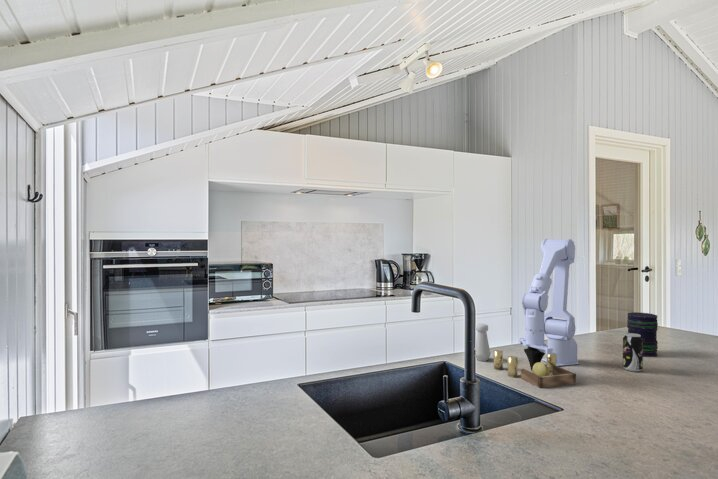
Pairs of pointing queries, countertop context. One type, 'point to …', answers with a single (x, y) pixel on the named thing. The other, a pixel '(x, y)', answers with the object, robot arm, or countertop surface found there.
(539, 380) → the corral
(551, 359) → the spacer field
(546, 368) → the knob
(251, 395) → the countertop surface
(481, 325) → the salt shaker
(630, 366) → the beverage can
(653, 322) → the storage jar
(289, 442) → the countertop surface
